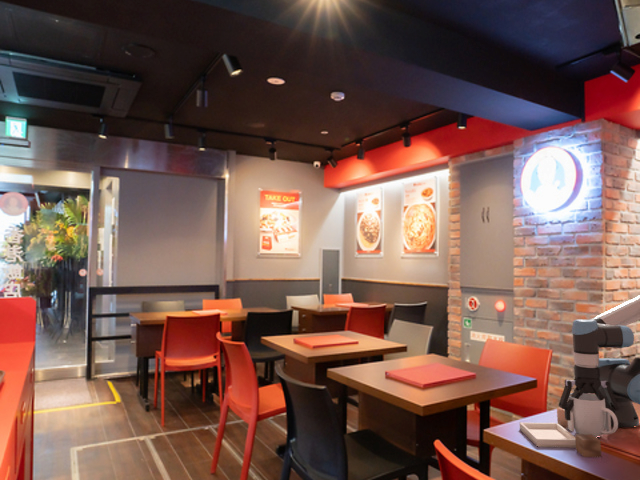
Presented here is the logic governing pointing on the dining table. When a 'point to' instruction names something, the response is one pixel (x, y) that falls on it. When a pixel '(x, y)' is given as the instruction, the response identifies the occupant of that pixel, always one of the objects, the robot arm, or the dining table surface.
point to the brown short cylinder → (561, 418)
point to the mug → (591, 415)
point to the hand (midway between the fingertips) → (589, 430)
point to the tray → (548, 435)
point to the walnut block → (588, 445)
